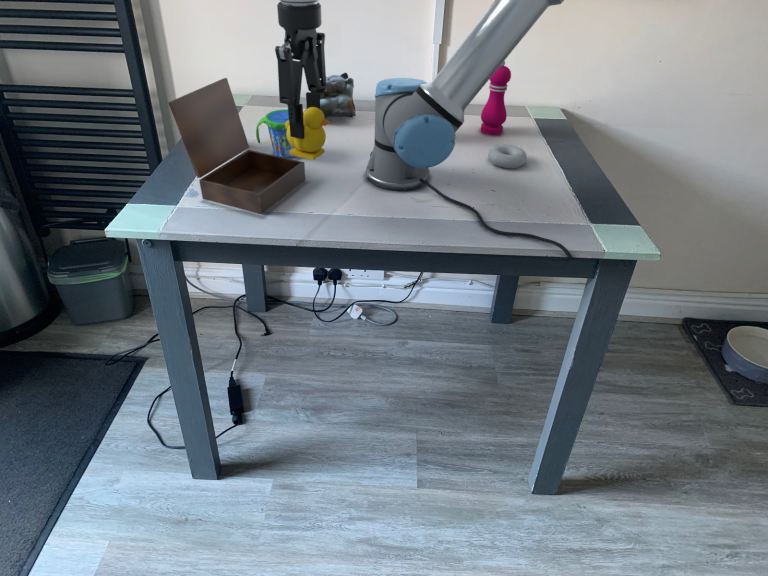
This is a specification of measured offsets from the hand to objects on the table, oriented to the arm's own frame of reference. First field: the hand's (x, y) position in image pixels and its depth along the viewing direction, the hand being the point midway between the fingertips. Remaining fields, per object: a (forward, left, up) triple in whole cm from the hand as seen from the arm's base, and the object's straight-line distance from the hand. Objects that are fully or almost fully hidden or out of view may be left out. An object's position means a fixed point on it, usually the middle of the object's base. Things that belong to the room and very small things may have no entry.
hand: (306, 131), depth 110 cm
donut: (-32, -46, -18) cm, 59 cm away
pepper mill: (-23, -65, -18) cm, 71 cm away
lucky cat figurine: (+23, -53, -18) cm, 60 cm away
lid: (+25, -3, -5) cm, 26 cm away
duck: (0, 0, -5) cm, 5 cm away
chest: (+16, -3, -18) cm, 24 cm away
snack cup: (+20, -24, -18) cm, 36 cm away
